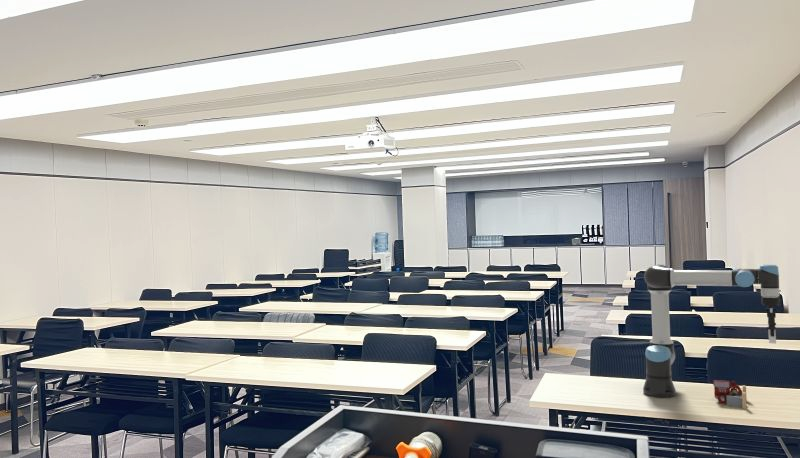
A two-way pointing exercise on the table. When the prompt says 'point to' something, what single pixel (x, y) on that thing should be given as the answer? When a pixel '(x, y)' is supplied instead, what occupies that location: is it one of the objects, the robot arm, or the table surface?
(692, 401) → the table surface
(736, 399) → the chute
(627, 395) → the table surface
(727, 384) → the toy fire truck
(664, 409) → the table surface
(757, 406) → the table surface
